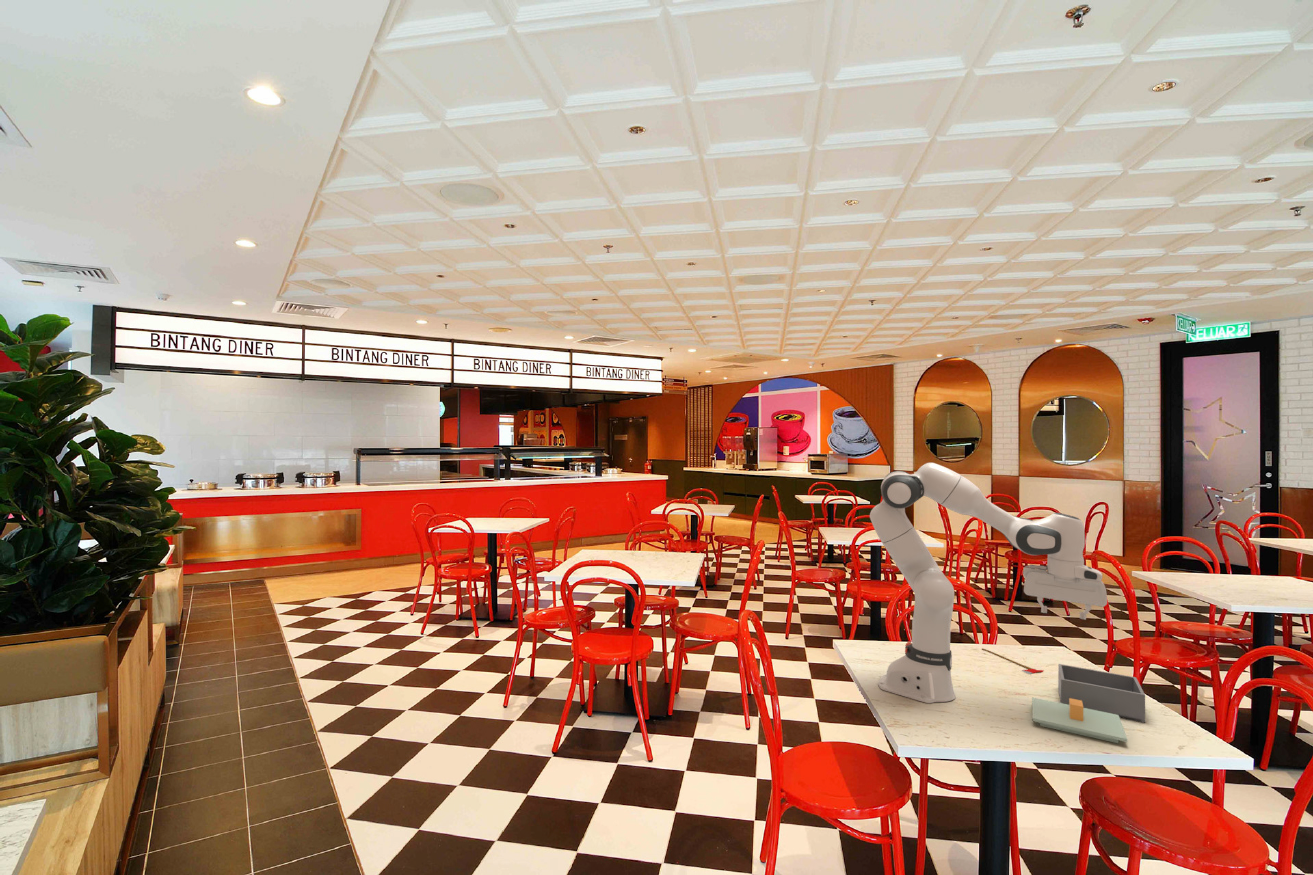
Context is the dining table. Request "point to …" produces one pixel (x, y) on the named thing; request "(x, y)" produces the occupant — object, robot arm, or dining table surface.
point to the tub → (1102, 691)
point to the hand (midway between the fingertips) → (1063, 615)
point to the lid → (1078, 719)
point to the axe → (1029, 671)
